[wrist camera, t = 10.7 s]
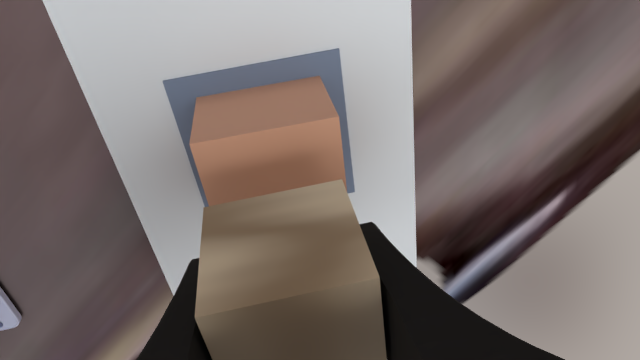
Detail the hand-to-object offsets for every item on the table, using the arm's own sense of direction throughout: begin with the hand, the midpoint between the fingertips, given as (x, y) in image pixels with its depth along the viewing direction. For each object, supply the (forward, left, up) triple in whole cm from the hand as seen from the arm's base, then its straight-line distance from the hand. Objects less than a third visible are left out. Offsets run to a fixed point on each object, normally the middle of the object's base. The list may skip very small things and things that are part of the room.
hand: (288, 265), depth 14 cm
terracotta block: (0, 0, -8) cm, 8 cm away
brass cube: (0, 0, -1) cm, 1 cm away
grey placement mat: (0, 0, -8) cm, 8 cm away
